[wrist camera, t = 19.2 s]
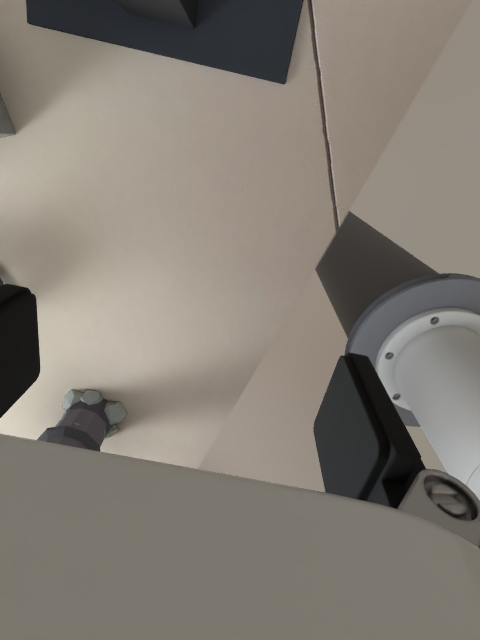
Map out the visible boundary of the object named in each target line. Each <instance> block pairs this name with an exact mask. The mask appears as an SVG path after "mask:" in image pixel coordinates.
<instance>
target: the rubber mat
mask: <svg viewBox="0 0 480 640" xmlns="http://www.w3.org/2000/svg"><path fill="white" fill-rule="evenodd" d="M302 3H303V0H198V4H197V13H196V22H195V29H192V28H188V27H184V26H180V25H175V24H171V23H167V22H163V21H159V20H155V19H151V18H146V17H142V16H138V15H134V14H130V13H128V12H127V11H126V10H125V9H124V8H123V7H122V6H121V5H120V4H119V3H118V2H117V1H116V0H26V5H27V23H29V24H32V25H36V26H40V27H44V28H49V29H53V30H57V31H61V32H66V33H70V34H74V35H78V36H83V37H87V38H91V39H95V40H99V41H104V42H108V43H112V44H116V45H121V46H125V47H129V48H133V49H137V50H142V51H146V52H150V53H154V54H159V55H163V56H167V57H171V58H176V59H180V60H184V61H188V62H192V63H197V64H201V65H205V66H209V67H214V68H218V69H222V70H226V71H231V72H235V73H239V74H243V75H247V76H252V77H256V78H260V79H264V80H269V81H273V82H277V83H281V84H285V81H286V77H287V72H288V67H289V63H290V58H291V54H292V49H293V44H294V40H295V35H296V31H297V26H298V22H299V17H300V12H301V8H302Z"/></svg>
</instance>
